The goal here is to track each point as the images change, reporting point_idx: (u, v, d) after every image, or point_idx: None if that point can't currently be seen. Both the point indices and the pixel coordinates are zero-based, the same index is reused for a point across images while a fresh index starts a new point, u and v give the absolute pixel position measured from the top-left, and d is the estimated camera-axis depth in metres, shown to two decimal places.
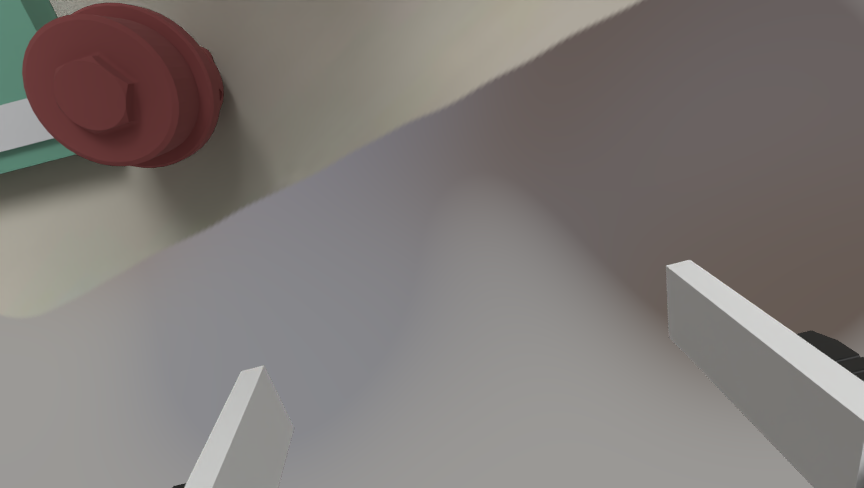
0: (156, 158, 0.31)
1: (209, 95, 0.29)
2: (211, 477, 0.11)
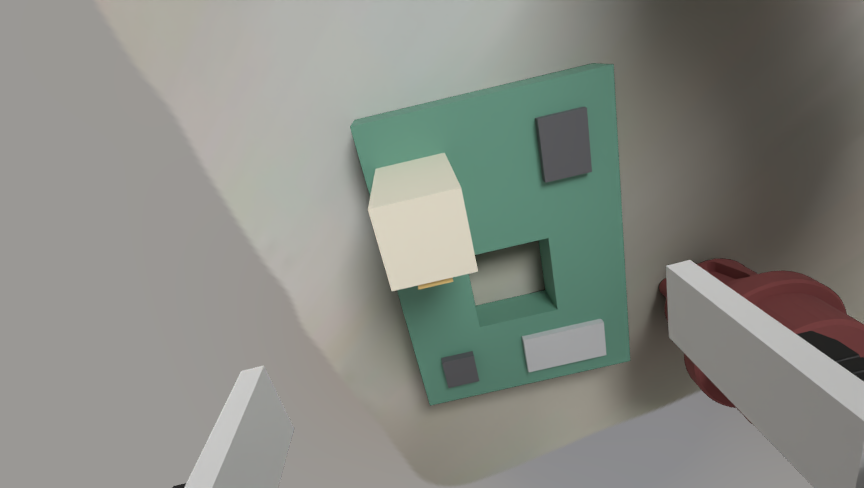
0: None
1: None
2: (211, 477, 0.11)
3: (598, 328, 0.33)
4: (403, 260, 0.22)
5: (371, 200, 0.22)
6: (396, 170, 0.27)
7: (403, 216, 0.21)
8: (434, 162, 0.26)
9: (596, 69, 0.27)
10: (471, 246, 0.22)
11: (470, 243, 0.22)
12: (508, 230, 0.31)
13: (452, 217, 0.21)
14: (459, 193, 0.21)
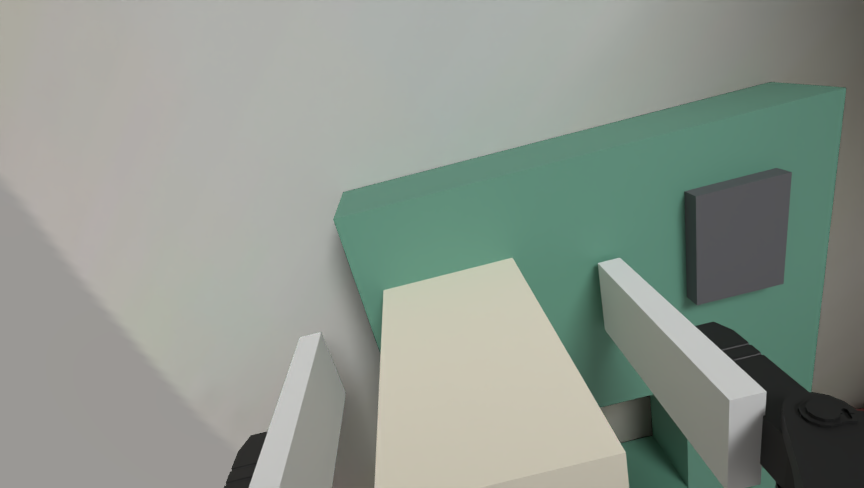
0: None
1: None
2: (291, 423, 0.12)
3: None
4: None
5: (381, 450, 0.09)
6: (426, 306, 0.14)
7: None
8: (502, 292, 0.13)
9: (812, 98, 0.14)
10: None
11: None
12: (618, 378, 0.17)
13: None
14: (619, 464, 0.08)
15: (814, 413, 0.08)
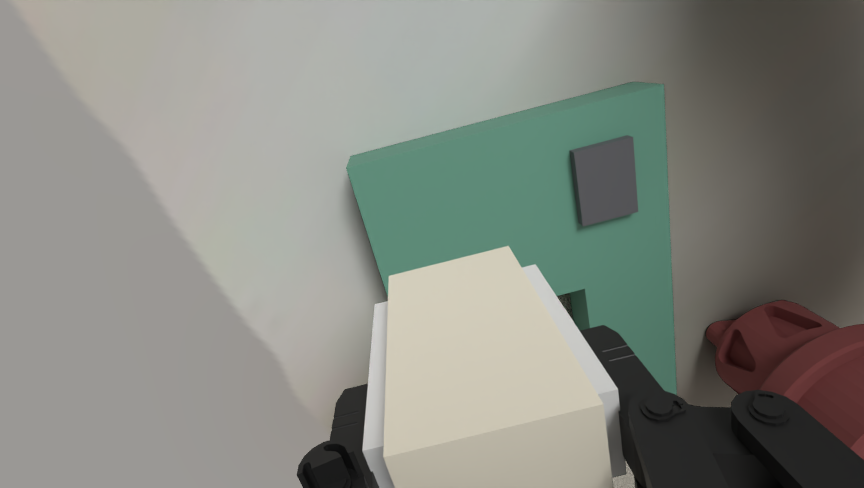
0: None
1: None
2: None
3: None
4: None
5: (389, 408, 0.10)
6: (428, 289, 0.15)
7: (465, 466, 0.09)
8: (498, 275, 0.14)
9: (643, 90, 0.22)
10: None
11: None
12: None
13: (578, 460, 0.09)
14: (597, 415, 0.09)
15: (652, 410, 0.09)
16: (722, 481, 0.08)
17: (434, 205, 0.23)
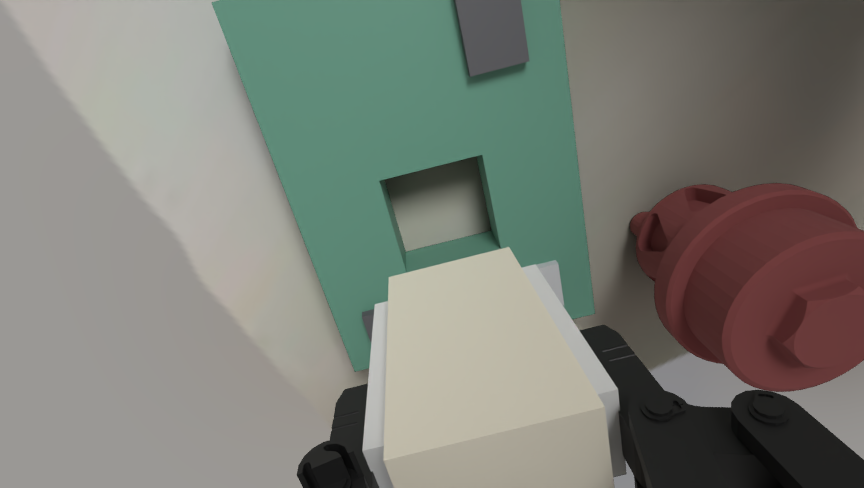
0: None
1: None
2: None
3: (551, 271, 0.27)
4: None
5: (389, 411, 0.10)
6: (428, 290, 0.15)
7: (466, 469, 0.09)
8: (498, 277, 0.14)
9: None
10: None
11: None
12: (430, 144, 0.24)
13: (578, 463, 0.09)
14: (599, 418, 0.09)
15: (652, 410, 0.09)
16: (722, 480, 0.08)
17: (310, 50, 0.22)
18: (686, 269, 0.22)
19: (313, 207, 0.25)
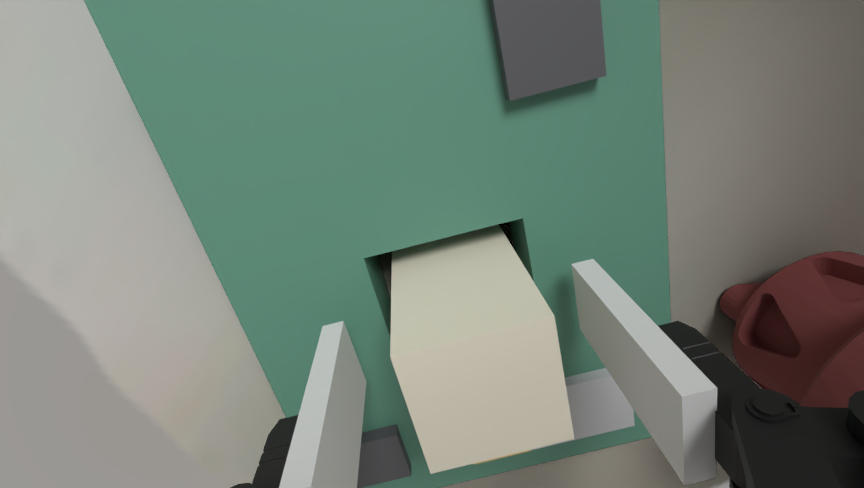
0: None
1: None
2: (321, 406, 0.12)
3: None
4: (450, 429, 0.13)
5: (394, 328, 0.13)
6: (425, 249, 0.18)
7: (452, 365, 0.12)
8: (483, 237, 0.17)
9: None
10: (566, 403, 0.13)
11: (564, 399, 0.13)
12: (443, 204, 0.16)
13: (537, 362, 0.12)
14: (550, 324, 0.12)
15: (761, 409, 0.09)
16: None
17: (247, 58, 0.13)
18: None
19: (262, 298, 0.16)
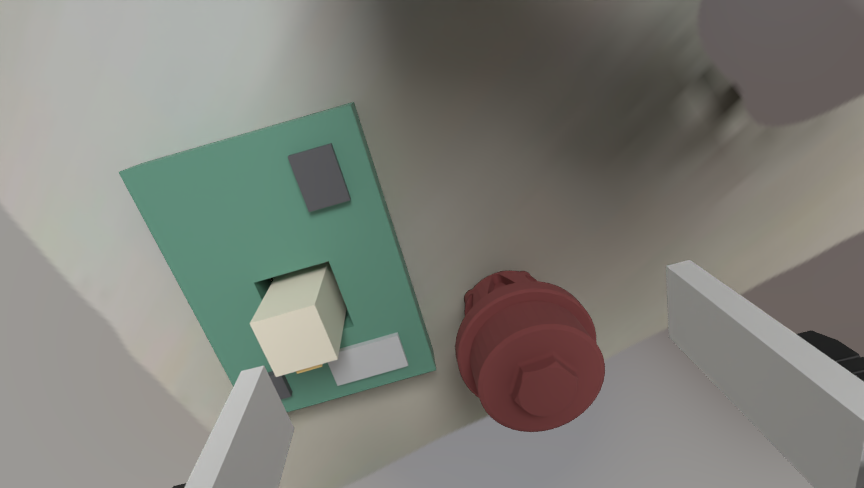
0: None
1: None
2: (211, 477, 0.11)
3: (393, 341, 0.36)
4: (280, 355, 0.31)
5: (256, 313, 0.31)
6: (288, 277, 0.35)
7: (276, 326, 0.30)
8: (316, 270, 0.35)
9: (335, 110, 0.30)
10: (329, 342, 0.31)
11: (328, 340, 0.30)
12: (288, 256, 0.33)
13: (312, 324, 0.30)
14: (314, 308, 0.30)
15: None
16: None
17: (192, 198, 0.31)
18: (466, 345, 0.31)
19: (206, 303, 0.34)
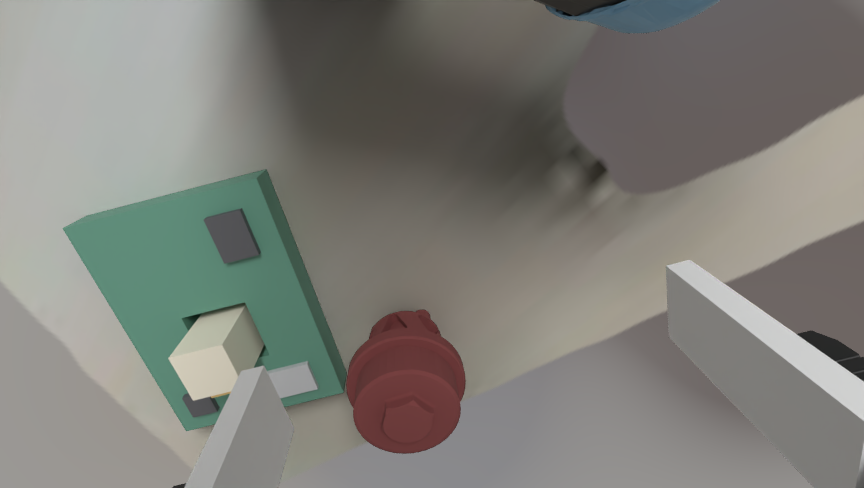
0: None
1: (463, 387, 0.39)
2: (211, 477, 0.11)
3: (303, 368, 0.42)
4: (196, 383, 0.37)
5: (176, 348, 0.37)
6: (214, 312, 0.41)
7: (190, 361, 0.36)
8: (236, 307, 0.41)
9: (244, 182, 0.36)
10: (236, 374, 0.37)
11: (235, 373, 0.37)
12: (210, 297, 0.39)
13: (220, 360, 0.36)
14: (221, 347, 0.36)
15: None
16: None
17: (125, 250, 0.37)
18: (353, 379, 0.38)
19: (141, 334, 0.40)
